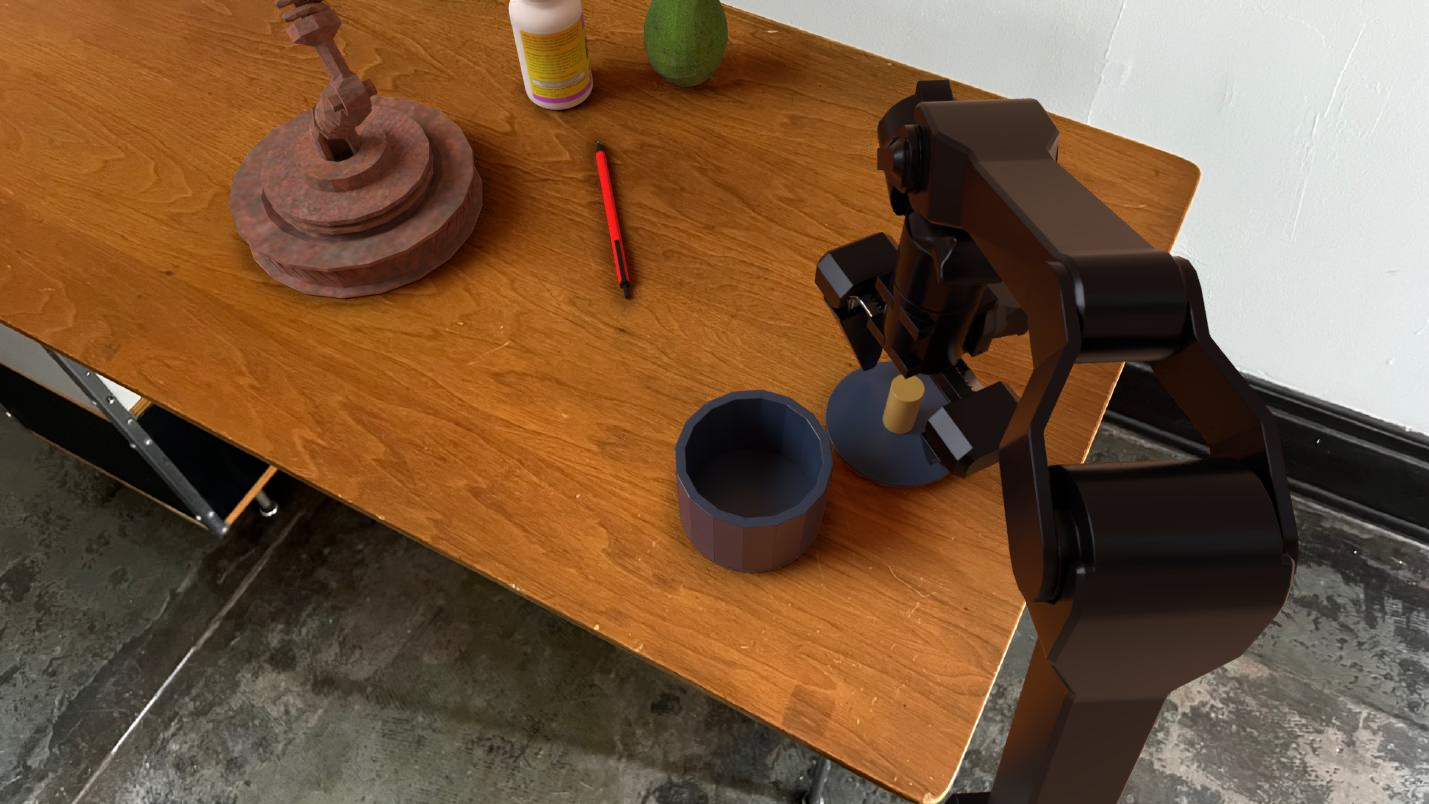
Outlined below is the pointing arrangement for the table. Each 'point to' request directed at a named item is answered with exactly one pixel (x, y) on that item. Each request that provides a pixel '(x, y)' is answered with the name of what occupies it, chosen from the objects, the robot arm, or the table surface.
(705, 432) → the canister
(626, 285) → the pen
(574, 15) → the supplement bottle
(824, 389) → the table surface
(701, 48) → the fruit
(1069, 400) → the table surface
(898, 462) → the canister lid
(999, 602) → the table surface
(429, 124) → the desk lamp
